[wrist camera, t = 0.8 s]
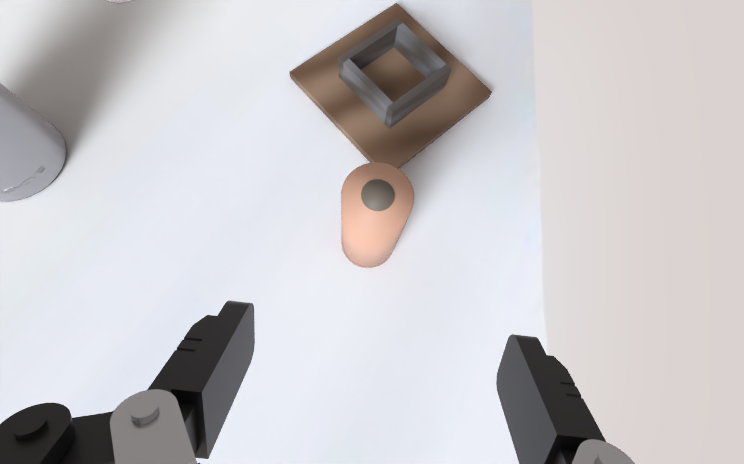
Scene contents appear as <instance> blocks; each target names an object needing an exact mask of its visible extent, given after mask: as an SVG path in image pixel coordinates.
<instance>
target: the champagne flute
mask: <svg viewBox="0 0 744 464" xmlns="http://www.w3.org/2000/svg"><path fill="white" fill-rule="evenodd" d="M107 1H110V2H117V3H122V2H129V1H132V0H107Z"/></svg>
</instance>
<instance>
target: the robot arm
mask: <svg viewBox="0 0 744 464" xmlns="http://www.w3.org/2000/svg"><path fill="white" fill-rule="evenodd" d="M65 156H66V146H65V142H64V139H63V137H62V135H61V134H60V132H59V131H58V130H57V129H56V128H55V127H54V126H52V125H51V124H50V123H49V122H47V121H46V120H45V119H44V118H43V117H41V116H40V115H39V114H38V113H36V112H35V111H34V110H33V109H32V108H30V107H29V106H28V105H27V104H26V103H24V102H23V101H22V100H21V99H20V98H18V97H17V96H16V95H15V94H13V93H12V92H11V91H10V90H8V89H7V88H6V87H5V86H4V85H2V84H1V83H0V201H15V200H21V199H24V198H27V197H30V196H32V195H34V194H36V193H38V192H40V191H41V190H43V189H44V188H45V187H47V186H48V185H49V184H50V183H51V182H52V181H53V180H54V179H55V178H56V177H57V175H58V174H59V172H60V170H61V169H62V166H63V164H64V161H65ZM254 343H255V339H254V306H253V304H252V303H244V302H236V301H227V302H226V303H225V305H224V306H223V308H222V310H221V311H220V313H219V314H218V316H211V315H207V316H205V317H204V318H203V319H201V320H200V321H198V322H197V323H195V324H194V325H193V326H192V327H191V329H190V330H189V332H188V333H187V334H186V336H185V337H184V340H182V342H181V343H180V344H179V346H178V347H177V350H175V351H174V353H173V354H172V356H171V357H170V359H169V360H168V361H167V363H166V364H165V366H164V367H163V368H162V370H161V371H160V373H159V374H158V376H157V377H156V378H155V380H154V381H153V383H152V384H151V386H150V387H149V388H148V390H146V391H142V392H139V393H137V394H134V395H132V396H130V397H129V398H127V399H126V400H124V401H123V402H122V403H121V404H120V405H119V406H118V407H117V408H116V409H115V410H114V411H112V412H108V413H102V414H96V415H89V416H83V417H76V418H72V417H71V414H70V411H69V409H68V408H67V407H65V406H64V405H61V404H58V403H44V404H38V405H34V406H31V407H28V408H26V409H23V410H21V411H19V412H17V413H15V414H14V415H12V416H10V417H9V418H7V419H6V420H5V421H4V422H2V423H1V424H0V464H197V461H196V458H204V459H208V458H209V456H210V453H211V451H212V449H213V447H214V444H215V442H216V440H217V438H218V435H219V433H220V431H221V428H222V426H223V424H224V422H225V419H226V417H227V415H228V413H229V410H230V408H231V406H232V404H233V401H234V399H235V397H236V394H237V392H238V390H239V388H240V385H241V383H242V381H243V379H244V376H245V374H246V372H247V370H248V367H249V365H250V363H251V360H252V356H253V352H254ZM497 391H498V395H499V398H500V402H501V405H502V408H503V411H504V415H505V418H506V421H507V424H508V428H509V431H510V434H511V437H512V441H513V444H514V447H515V451H516V454H517V457H518V460H519V464H635V463H634V462H633V461H632V460H631V459H630V457H628V456H627V455H626V454H625V453H624V452H622V451H621V450H620V449H618V448H617V447H615V446H613V445H611V444H609V443H607V442H606V441H605V439H604V437H603V436H602V433H601V432H600V430H599V428H598V426H597V424H596V422H595V420H594V418H593V416H592V415H591V413H590V411H589V409H588V407H587V405H586V404H585V402H584V400H583V399H582V398H581V394H580V392H579V391H578V389H577V387H576V386H575V383H574V382H573V379H572V378H571V376H570V374H569V372H568V370H567V369H566V368H565V367H564V366H563V365H562V364H561V363H560V362H559V361H558V360H557V359H556V358H555V357H554V356H548V355H546V353H545V351H544V349H543V347H542V345H541V343H540V341H539V340H538V338H536V337H529V336H521V335H510V337H509V338H508V341H507V344H506V347H505V350H504V353H503V356H502V360H501V363H500V366H499V369H498V373H497ZM198 464H200V463H198Z"/></svg>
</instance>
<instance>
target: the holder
mask: <svg viewBox="0 0 744 464" xmlns="http://www.w3.org/2000/svg"><path fill="white" fill-rule="evenodd" d="M290 77H291V79H292V80H293V81H294V82H295V83H296V84H297V85H298V86H299V87H300V88H301V89H302V90H303V92H304V93H305V94H306V95H307V96H308V97H309V98H310V99H311V100H312V101H313V102H314V103H315V104H316V105H317V106H318V107H319V108H320V110H321V111H322V112H323V113H324V114H325V115H326V116H327V117H328V118H329V119H330V120H331V121H332V122H333V123H334V124H335V125H336V126H337V128H338V129H339V130H340V131H341V132H342V133H343V134H344V135H345V136H346V137H347V138H348V139H349V140H350V141H351V142H352V143H353V144H354V146H355V147H356V148H357V149H358V150H359V151H360V152H361V153H362V154H363V155H364V156H365V157H366V158H367V159H368V160H369V161H370V162H371V163H385V164H389V165H391V166H394V167H395V168H397V169H399V168H400V167H401V166H402V165H404V164H405V163H406V162H408V161H409V160H410V159H411V158H413V157H414V156H415V155H416V154H418V153H419V152H420V151H422V150H423V149H424V148H425V147H427V146H428V145H429V144H430V143H432V142H433V141H434V140H436V139H437V138H438V137H439V136H441V135H442V134H443V133H444V132H446V131H447V130H448V129H450V128H451V127H452V126H453V125H455V124H456V123H457V122H458V121H460V120H461V119H462V118H464V117H465V116H466V115H467V114H469V113H470V112H471V111H472V110H474V109H475V108H476V107H478V106H479V105H480V104H481V103H483V102H484V101H485V100H486V99H488V98H489V97H490V95H491V93H492V92H491V91H490V90H489V89H488V88H487V87H486V86H485V85H484V84H483V83H482V82H481V81H480V80H479V79H477V78H476V77H475V76H474V75H473V74H472V73H471V72H470V71H469V70H468V69H467V68H466V67H465V66H464V65H462V64H461V63H460V62H459V61H458V60H457V59H456V58H455V57H454V56H453V55H452V54H451V53H450V52H449V51H447V50H446V49H445V48H444V47H443V46H442V45H441V44H440V43H439V42H438V41H437V40H436V39H435V38H434V37H432V36H431V35H430V34H429V33H428V32H427V31H426V30H425V29H424V28H423V27H422V26H421V25H420V24H419V23H417V22H416V21H415V20H414V19H413V18H412V17H411V16H410V15H409V14H408V13H407V12H406V11H405V10H404V9H402V8H401V7H400V6H399V5H398V4H397V3H396V4H394V5H393V6H391V7H390V8H388V9H386V10H385V11H383V12H382V13H380V14H379V15H377V16H376V17H374V18H373V19H371V20H369V21H368V22H366V23H365V24H363V25H362V26H360V27H359V28H357V29H355V30H354V31H352V32H351V33H349V34H348V35H346V36H345V37H343V38H342V39H340V40H338V41H337V42H335V43H334V44H332V45H331V46H329V47H328V48H326V49H324V50H323V51H321V52H320V53H318V54H317V55H315V56H314V57H312V58H311V59H309V60H307V61H306V62H304V63H303V64H301V65H300V66H298V67H297V68H295V69H294V70H292V71H290Z"/></svg>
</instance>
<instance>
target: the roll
mask: <svg viewBox="0 0 744 464" xmlns="http://www.w3.org/2000/svg"><path fill="white" fill-rule="evenodd" d="M413 203H414V192H413V188H412V185H411V183H410V181H409V180H408V178H407V177H406V176H405V174H404V173H402V172H401V171H400V170H399V169H397V168H395V167H394V166H391V165H389V164H385V163H368V164H364V165H362V166H360V167H358V168H356V169H355V170H353V171H352V172H351V173H350V174H349V175H348V176H347V178H346V180H345V181H344V184H343V187H342V192H341V225H342V249H343V252H344V254H345V255H346V257H347V258H348V259H349V260H350V261H351V262H352V263H354V264H355V265H357V266H360V267H364V268H372V267H376V266H379V265H381V264H383V263H384V262H385V261H386V260H387V259H388V258H389V257H390V255H391V253H392V251H393V249H394V247H395V245H396V242H397V240H398V238H399V236H400V234H401V232H402V229H403V227H404V225H405V223H406V221H407V218H408V216H409V214H410V212H411V210H412V207H413Z"/></svg>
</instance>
